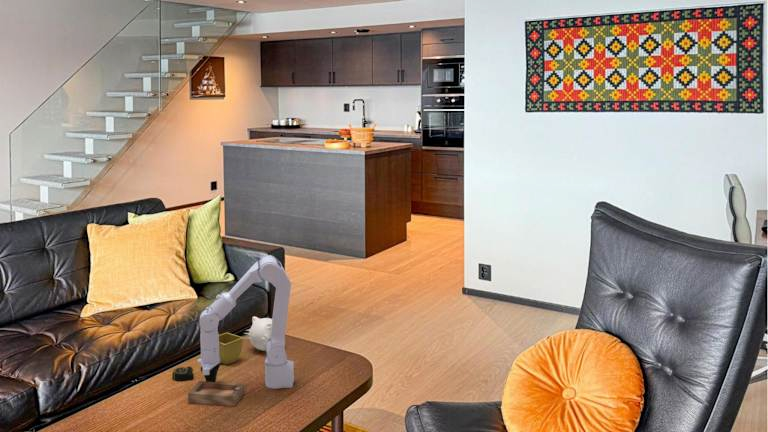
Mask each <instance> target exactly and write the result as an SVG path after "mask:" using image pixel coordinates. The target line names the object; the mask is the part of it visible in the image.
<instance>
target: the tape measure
mask: <svg viewBox="0 0 768 432" xmlns="http://www.w3.org/2000/svg"><path fill="white" fill-rule="evenodd" d="M193 372H194V369H193V366H180V367H176V368H175V369H173V371H172V373H171V374H172V375H171V376H172V380H173V381H175V382H186V381H192V380H194V379H195V377H194V373H193Z"/></svg>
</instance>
